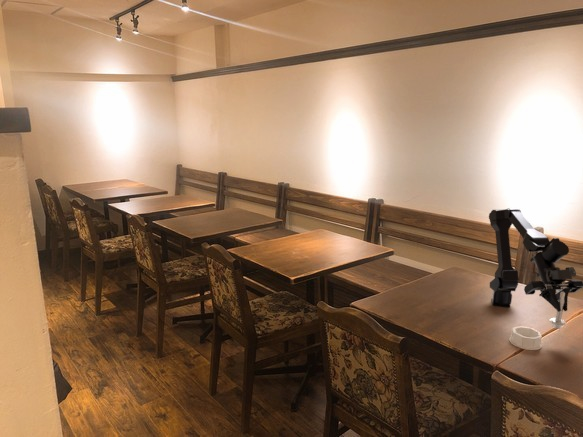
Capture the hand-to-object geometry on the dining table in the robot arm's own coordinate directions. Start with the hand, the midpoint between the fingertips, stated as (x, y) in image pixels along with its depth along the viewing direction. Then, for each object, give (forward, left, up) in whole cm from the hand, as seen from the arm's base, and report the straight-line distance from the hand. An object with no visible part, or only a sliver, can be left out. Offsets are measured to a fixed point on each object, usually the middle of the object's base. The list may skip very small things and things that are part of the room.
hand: (562, 311), depth 156 cm
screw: (-1, +1, -7) cm, 7 cm away
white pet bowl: (-10, -1, -13) cm, 16 cm away
